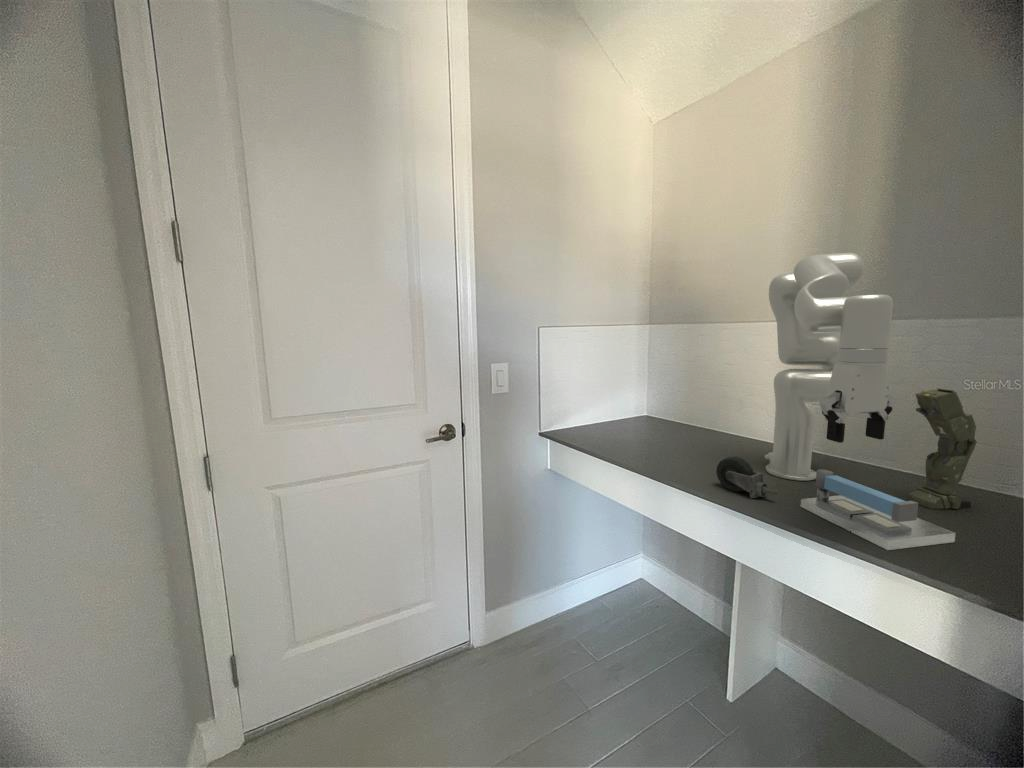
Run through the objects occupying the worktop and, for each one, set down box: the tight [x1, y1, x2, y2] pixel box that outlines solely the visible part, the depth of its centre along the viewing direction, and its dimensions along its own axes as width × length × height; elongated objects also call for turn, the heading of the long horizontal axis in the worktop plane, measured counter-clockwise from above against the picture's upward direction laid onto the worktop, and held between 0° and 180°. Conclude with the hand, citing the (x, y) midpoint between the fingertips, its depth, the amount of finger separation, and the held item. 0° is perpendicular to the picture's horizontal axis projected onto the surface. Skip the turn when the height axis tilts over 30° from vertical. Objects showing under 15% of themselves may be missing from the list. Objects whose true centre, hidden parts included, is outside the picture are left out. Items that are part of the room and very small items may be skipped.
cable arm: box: [814, 468, 919, 522], centre depth 89 cm, size 20×4×4 cm, turn 9°
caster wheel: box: [715, 456, 779, 499], centre depth 107 cm, size 6×10×15 cm
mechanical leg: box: [908, 387, 977, 510], centre depth 97 cm, size 14×7×30 cm, turn 92°
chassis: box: [800, 487, 957, 551], centre depth 90 cm, size 20×16×5 cm
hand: (854, 439), depth 83 cm, fingers open, 9 cm apart
